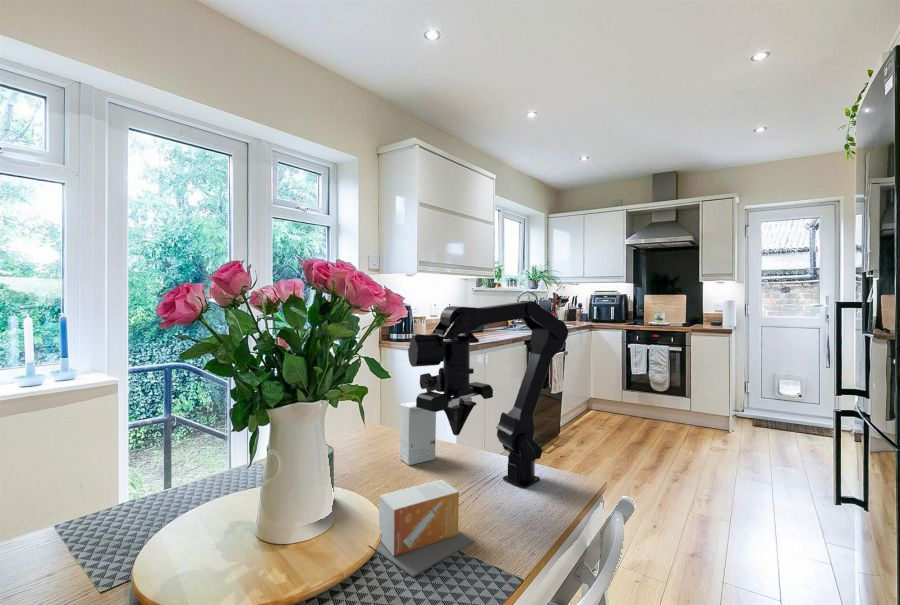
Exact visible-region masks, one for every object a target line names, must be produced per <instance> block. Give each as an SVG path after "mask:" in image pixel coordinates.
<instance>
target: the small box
mask: <svg viewBox="0 0 900 605" xmlns="http://www.w3.org/2000/svg"><path fill="white" fill-rule="evenodd" d="M459 498H460V492H459V490H458V489H457V488H455V487H453V486H452V485H450V484H449V483H447V481H444V480H443V479H437V480H433V481H429V482H425V483H422V484H418V485H415V486H410V487H406V488H402V489H399V490H395V491H391V492H387V493H383V494H380V495H379V511H378V512H379V513H378V514H379V516H378V521H379V532H380V531H381V533H382V537H381V542H382V543H383V544H384V546H385V547H386V548H387V549H388V550H389V552H390V553H391V554H392V555H393V556H397V555H400V554H403V553H406V552H409V551H412V550H415V549H418V548H421V547H424V546H427V545H430V544H433V543H436V542H439V541H442V540H444V539H447V538H450V537H453V536H456V535H458V532H459V505H460V503H459V502H460V501H459Z"/></svg>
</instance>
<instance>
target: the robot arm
mask: <svg viewBox="0 0 900 605" xmlns="http://www.w3.org/2000/svg"><path fill="white" fill-rule="evenodd" d="M515 320H522V321H523V323H524V325H525V326H526V327H527V328H528V329H529V331H531V336H530V342H531V344H530V346H531V350H532V351H531V355H530V357H529V359H528V363H527V366H526V369H525V371H524V374H523V378H522V381H521V383H520V387H519V389H518V393H517V395H516V398H515V402H514V404H513V407H512V408H511V409H510V410H509V411H508V413H506V412H505V411H502V412H501V414H500V418H499V422H498V424H497V425H496V427H495V428H496V429H497V430H496V431H497V432H496V437H497V439H498V442H499V443H501V444H502V447H503V449H504V450H505V451H506V452H509V454H508V456H507V459H508V460H507V461H508V462H507V474H506V475H504V476H503V477H502V480H503V481H506V482H508V483H511V484H514V485H516V486H518V487H521V488H523V489H524V488H527V487H529V486H532V485H533V484H535V483H537V482H539V481H541V477H540V476H538V475H535V472H536V471H535V467H536V466H535V464H536V462H535V461H536V460H541V456H542V454H543V448H541V446H540V445H538V443H537V442H536V441H535V440H534V436H535V432H536V429H535V428H536V427H535V422H534V421H535V420H534V414H535V411H536V408H537V406H538V402H539V399H540V396H541V392H542V389H543V387H544V383H545V380H546V377H547V375H548V372H549V369H550V365H551V363H552V360H553V358H554V357H555V356H556V354H558V353H559V352H560V351H561V350H562V348H563V347H564V344H565V342H566V341H567V338H568V336H569V329H568V327H567V324H566V323H565V321H563V320H561V319H558V318H557V317H556V316H555V315H554V314H552V313H550V312H549V311H547V310H546V309H544V308H543V307H542V306H540V304H538V303H537V302H536V301H534V300H520V301H519V302H517V301H516V302H511V303H504V304H498V305H497V304H496V305H489V306H482V307H475V306H474V307H471V306H458V305H456V306H455V305H454V306H453V305H451V306H450V305H449V306H447V307H444V309H443V310H442V312H441V314H440V319H439V321H438V322H437V323H436V325H435V326H434V328H433V329H432V331H431V332H430V333H428V334H420V333H412V335H411V340H410V342H409V346H408V349H407V350H408V351H407V354H408V361H409V364H410V365H411V367H413V368H414V367H415V368H416V367H429V366H439V365H440V364H441V363H442V362H443V364H442V365H443V367H439V369H438V374H437V375H431V373H429V372H427V373H422V374H420V375H419V387H420V389H421V390H426V392H422V393H419V394H418V395H417V396H416V397H415V398H416V399H415V400H416V401H415V402H416V407H418V408H421V409H425V410H428V411H432V412H436V413H437V412H442V411H443V412H444V413H445V415H446V418H447V420H448V423H449V426H450V429H451V432H452V435H454V436H459V435H460V433H461V432H462V430H463V427H464V426H465V423H466V421H467V419H468V418H469V416H470V414H471V412H472V410H473V408H474V406H475V407H476V405H477V402H475V401H472V400H473V399H472V397H475V396H478V395H480V396H481V397H482V398H483V400H487V399H492V398H494V390H493V387H492V386H491V384H487V383H483V382H478V381H473V382H470V380H471V379H470V377H471V376H470V375H472V374H474V373H475V372H474V368H473V367H472V368H471V366H470V365H471V364H470V363H471V362H470V360H471V359H470V357H471V355H470V353H471V352H470V350H471V349H470V348H471V347H470V344H478V343H479V342H480V340H479V339H478V338H477V336H475V335H474V334H473V332H472V331H476V330H478V329H480V328H481V327H483V326H486V325H489V324H495V323H503V322H509V321H515ZM435 391H436V392H435Z"/></svg>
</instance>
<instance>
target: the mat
mask: <svg viewBox="0 0 900 605" xmlns="http://www.w3.org/2000/svg"><path fill="white" fill-rule="evenodd" d="M473 542H474V539H473V538H471V537H469V536H467V535H465V534H464V533H462V532H460V531H458V535H456V536H453V537H450V538H447V539H444V540H442V541H439V542H436V543H433V544H430V545H427V546H424V547H421V548H418V549H415V550H412V551H409V552H406V553H403V554H400V555H397V556H393V555H392V554H391V553H390V552H389V550H388V549H387V548H386V547H385V546H384V544H383V543H382V542H380V544H379V546H378V548H377V550H376V551H375V552H376V553H378V554H379V555H380V556H382V557H383V558H385V559H386V560H387V561H389V562H390V563H392V564H393V565H394V566H396V567H397V568H398V569H400V570H401V571H403V572H404V573H406V574H407V575H409V576H410V577H411V578H414V577H416V576H418V575H419V574H422V573H423V572H424V571H426V570H428V569H430V568H431V567H433V566H435V565H436V564H438V563H440V562H441V561H443V560H445V559H446V558H448V557H449V556H452V555H453V554H455V553H457V552H458V551H460V550H461V549H463V548H464V547H465V548H466V546H468V545H470V544H471V543H473Z"/></svg>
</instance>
